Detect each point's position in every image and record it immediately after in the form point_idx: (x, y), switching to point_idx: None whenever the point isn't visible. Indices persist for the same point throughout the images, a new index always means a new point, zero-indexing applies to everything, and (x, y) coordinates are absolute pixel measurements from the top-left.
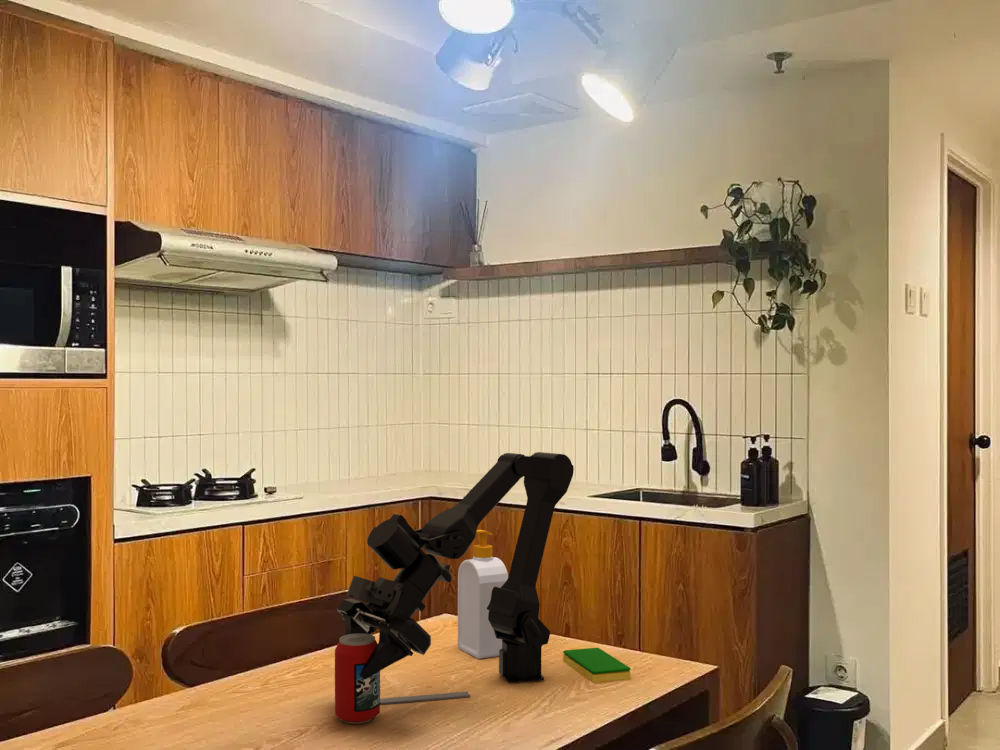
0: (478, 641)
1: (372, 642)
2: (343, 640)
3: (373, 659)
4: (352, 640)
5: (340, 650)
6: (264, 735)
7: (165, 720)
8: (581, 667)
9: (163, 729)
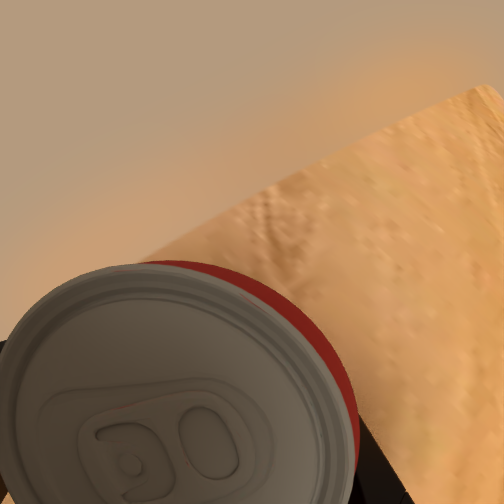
0: None
1: (6, 445)
2: (256, 358)
3: (4, 343)
4: (155, 400)
5: (202, 266)
6: (332, 190)
7: (494, 170)
8: None
9: (464, 142)
